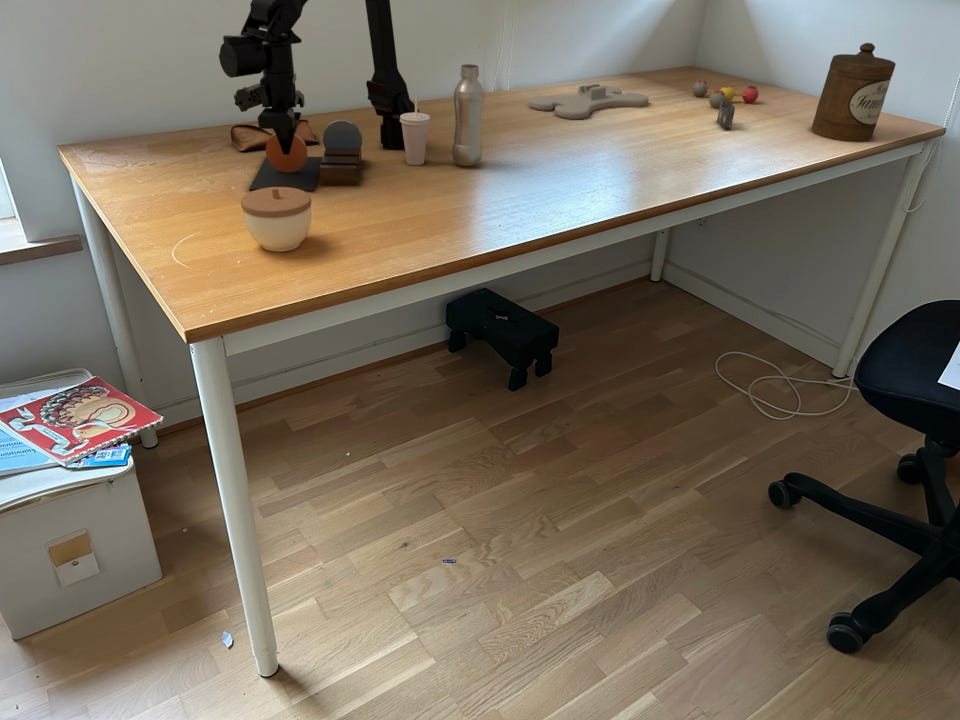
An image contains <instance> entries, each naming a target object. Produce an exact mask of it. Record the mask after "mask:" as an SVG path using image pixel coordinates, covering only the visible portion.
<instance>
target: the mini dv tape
mask: <svg viewBox="0 0 960 720" xmlns="http://www.w3.org/2000/svg"><path fill="white" fill-rule="evenodd" d="M735 111H736V107H735V106H734V105H733V104H732V103H731V101H730V102H729V101H727V100H726V99H721V103H720V108H718V113H717V118H716V123H717V124H718V125H719V126H720V127H721V128H722V129H723V130H724V131H731V129H732V125H733V122H734V121H733V120H734V116H735ZM729 126H730V127H729Z"/></svg>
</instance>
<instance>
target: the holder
mask: <svg viewBox="0 0 960 720" xmlns="http://www.w3.org/2000/svg"><path fill="white" fill-rule="evenodd" d="M648 104H649V96H647V95H645V94H642V93H637V92H625V93H624V94H623V93H622V89H621V88H618V87H615V86H610V85H600V84H599V83H591V84H586V85H581V86H578V91H577V94H572V95H557V96H555V95H554V96H553V95H551V96H549V95H538V96H533V97H530V99H529V100H528V106H529V107H530V108H531V109H534V110H538V111H545V112H546V111H547V112H550V111H552V110H554V114H555V115H556V116H557V117H559V118H562V119H566V120H567V119H568V120H581V119H585V118H588V117H589V114H590V113H591V112H594V111H596V110H602V109H606V108H616V107H619V108H620V107H634V108H635V107H636V108H637V107H638V108H639V107H645V106H647V105H648Z"/></svg>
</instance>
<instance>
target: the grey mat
mask: <svg viewBox="0 0 960 720" xmlns="http://www.w3.org/2000/svg"><path fill="white" fill-rule="evenodd" d="M322 158H323V156H307V160H306V162H305V164H304V166H303V167H302V168H301V169H299V170H298V171H296V172H292V173H286V172H282V171H279V170H277V169H276V168H274V167H273V166H272V165H271V164H270V162H269V161H268V159H267V156H266V155H265V158H264V160H263V162H262V164H261V166H260V167H259V169H258V170H257V173H256V174H255V176H254V179H253V181H252V183H251V184H250V186H249V188H248V191H250V192H252V191H255V190H258V189H263V188H270V187H289V188H296V189H300V190H303V191H305V192H314V191H315V188H316V185H317V182H318V179H319V177H320V169H319V168H320V165H321V161H322Z"/></svg>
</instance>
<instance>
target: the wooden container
mask: <svg viewBox="0 0 960 720" xmlns="http://www.w3.org/2000/svg"><path fill="white" fill-rule="evenodd" d="M859 50H860V51H859V52H858V53H856V54H852V53H851V54H850V53H849V54H848V53H847V54H846V53H844V54H843V53H841V54H836V55H832V58H831V60H830V65H829V69H828V72H827V74H826V78H825V82H824V85H823V88H822V91H821V94H820V97H819V100H818V103H817V107H816V110H815V113H814V114H815V115H814V117H813V121H812V125H811V131H812V132H813V133H815V134H817V135H818V136H822V137H824V138H828V139H831V140H838V141H844V142H866V141H869V140H871V139H872V138H873V135H874V132H875V130H876V127H877V123H878V121H879V118H880V116H881V112H882V109H883V106H884V103H885V99H886V96H887V93H888V90H889V86H890V83H891V80H892V76H893V74H894V71H895V68H896V65H897V63H896V62H895V61H893V60H890V59H887V58H882V57H879V56H878V57H877V56H875V55H874V53H873V52H874V51H875V50H876V46H875V45H874V44H873V43H871V42H864V43H862V44H861V45H860V46H859Z"/></svg>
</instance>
